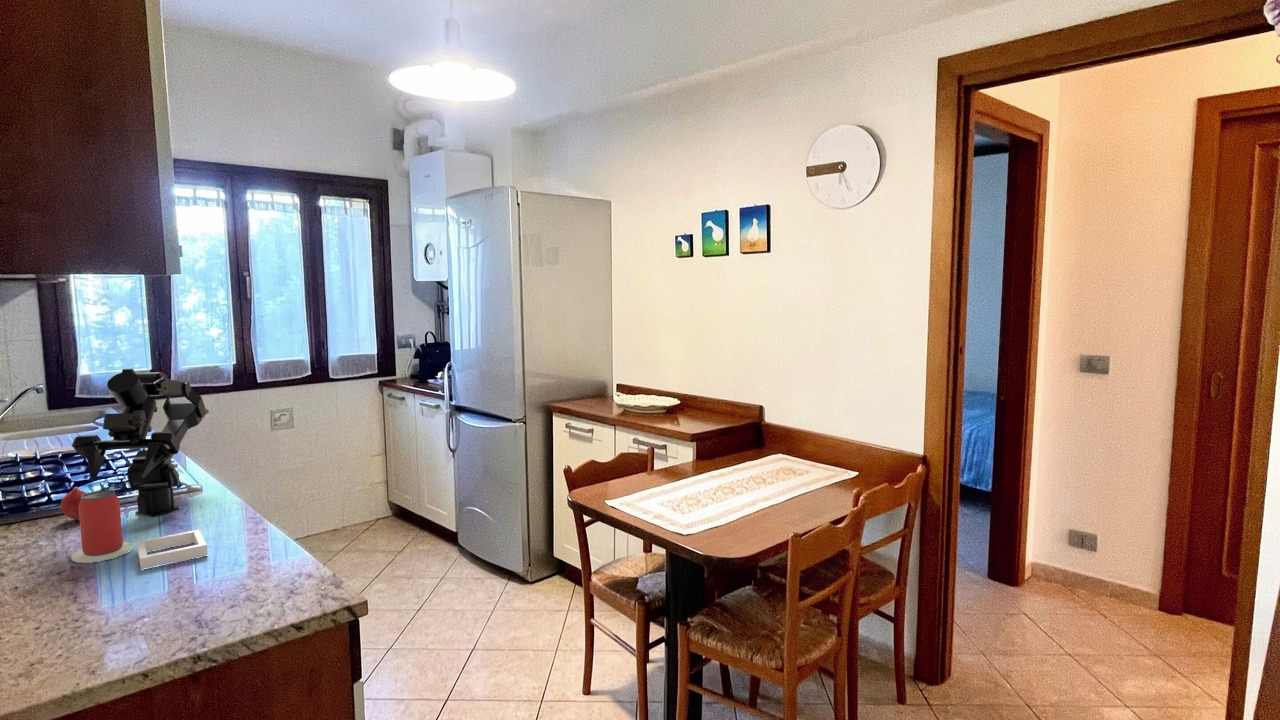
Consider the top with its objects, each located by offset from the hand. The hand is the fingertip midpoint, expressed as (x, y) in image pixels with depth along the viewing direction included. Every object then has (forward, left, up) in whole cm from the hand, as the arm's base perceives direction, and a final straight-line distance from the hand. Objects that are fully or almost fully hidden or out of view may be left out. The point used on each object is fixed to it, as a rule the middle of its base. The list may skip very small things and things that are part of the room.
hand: (117, 478), depth 145 cm
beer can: (+7, +4, -13) cm, 15 cm away
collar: (+3, +18, -14) cm, 23 cm away
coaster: (+7, +4, -14) cm, 16 cm away
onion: (-5, -22, -14) cm, 26 cm away
